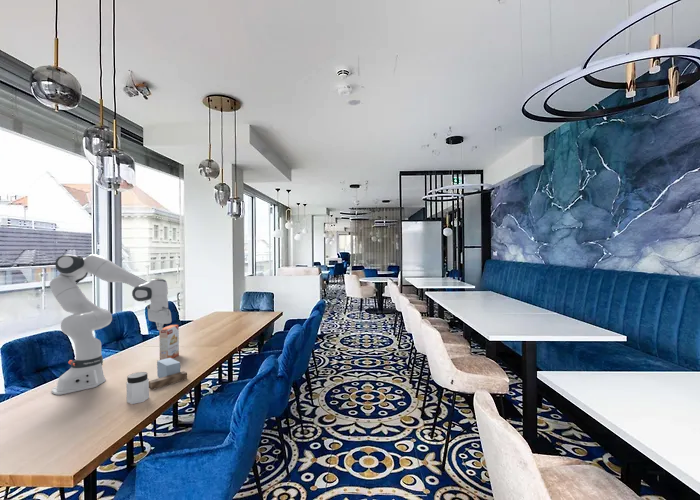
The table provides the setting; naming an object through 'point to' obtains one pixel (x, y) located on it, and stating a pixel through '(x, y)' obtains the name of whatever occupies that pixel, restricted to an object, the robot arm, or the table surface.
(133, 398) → the jar
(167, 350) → the cracker box
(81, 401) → the table surface
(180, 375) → the board
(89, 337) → the robot arm
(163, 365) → the brick
